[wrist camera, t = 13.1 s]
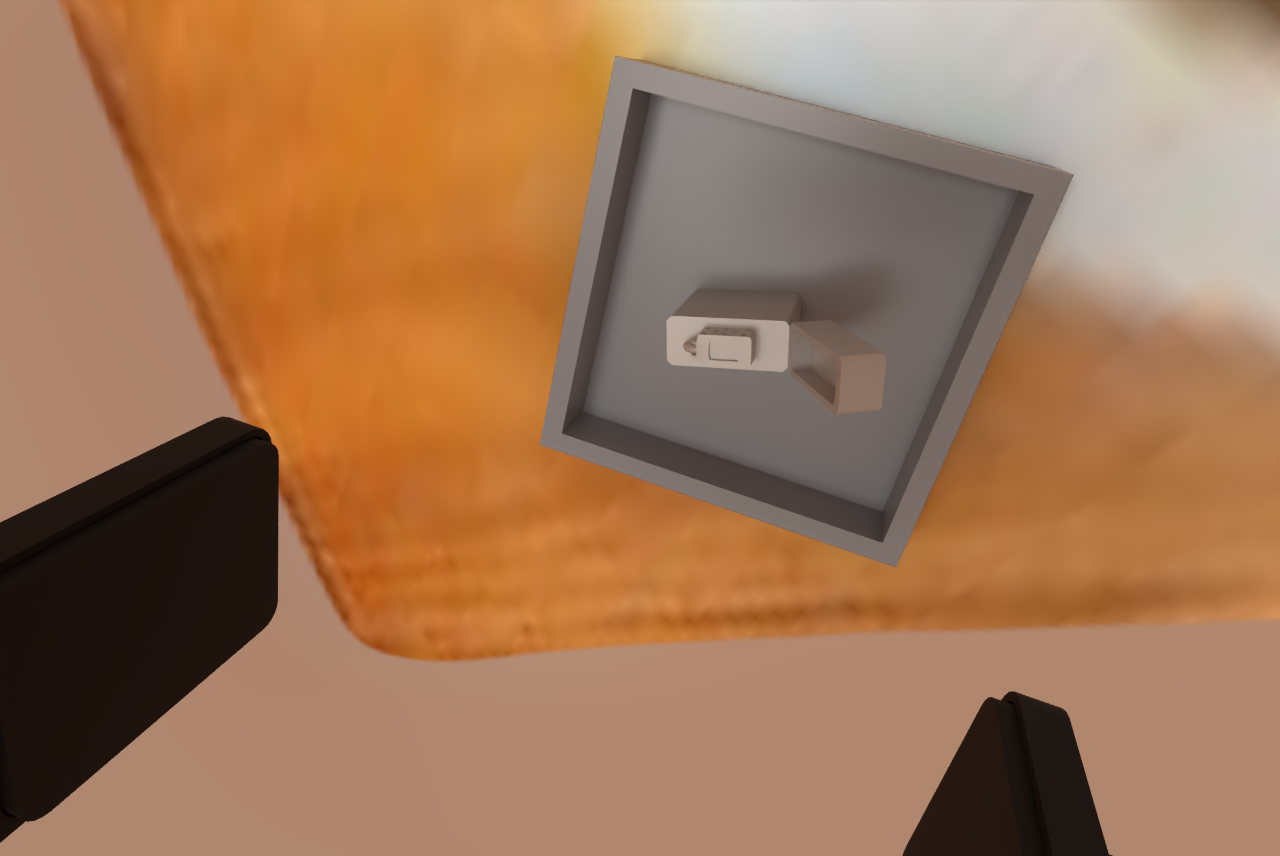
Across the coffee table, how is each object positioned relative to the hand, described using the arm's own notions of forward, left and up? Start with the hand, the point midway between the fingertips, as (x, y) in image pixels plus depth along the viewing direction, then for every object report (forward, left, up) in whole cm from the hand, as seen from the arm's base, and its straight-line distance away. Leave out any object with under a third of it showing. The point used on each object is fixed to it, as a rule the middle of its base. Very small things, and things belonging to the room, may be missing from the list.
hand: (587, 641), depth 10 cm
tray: (0, +1, -23) cm, 23 cm away
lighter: (0, +1, -22) cm, 22 cm away
